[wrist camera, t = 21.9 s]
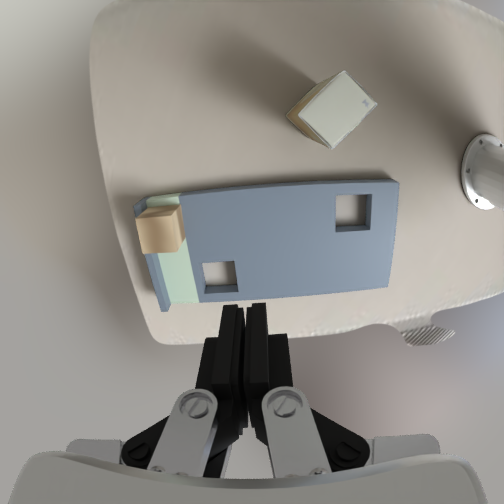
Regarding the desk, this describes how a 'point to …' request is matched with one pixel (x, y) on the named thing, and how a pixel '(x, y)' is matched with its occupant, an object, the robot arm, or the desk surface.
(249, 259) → the board
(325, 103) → the skincare box
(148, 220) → the block
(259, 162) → the desk surface
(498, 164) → the robot arm
